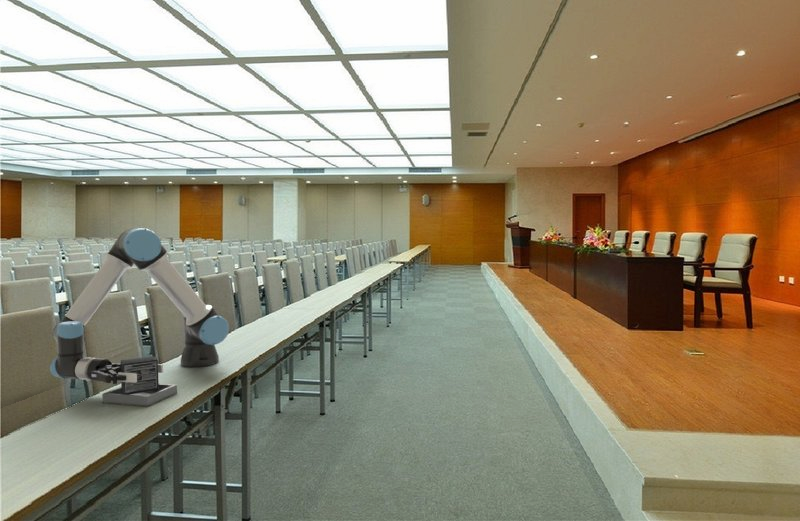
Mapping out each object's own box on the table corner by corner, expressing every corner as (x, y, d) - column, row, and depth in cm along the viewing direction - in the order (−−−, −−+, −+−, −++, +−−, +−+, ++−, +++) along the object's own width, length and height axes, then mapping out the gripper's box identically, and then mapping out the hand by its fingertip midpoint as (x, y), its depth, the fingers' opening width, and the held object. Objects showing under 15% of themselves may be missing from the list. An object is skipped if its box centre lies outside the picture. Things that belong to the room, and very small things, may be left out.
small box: (155, 385, 174) (155, 355, 174) (159, 390, 169) (158, 358, 169) (120, 390, 168) (120, 359, 168) (123, 395, 163) (122, 363, 162)
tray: (134, 390, 178) (134, 381, 177) (177, 393, 174) (176, 384, 173) (102, 402, 164) (102, 393, 164) (147, 406, 160) (147, 397, 160)
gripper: (121, 371, 184) (174, 375, 179) (64, 390, 161) (122, 395, 156) (121, 350, 184) (173, 354, 179) (63, 366, 161) (121, 371, 156)
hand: (149, 373), depth 167 cm, fingers closed on small box, 11 cm apart
